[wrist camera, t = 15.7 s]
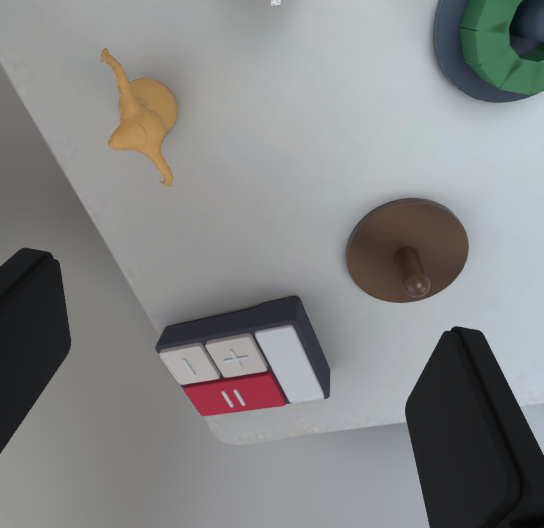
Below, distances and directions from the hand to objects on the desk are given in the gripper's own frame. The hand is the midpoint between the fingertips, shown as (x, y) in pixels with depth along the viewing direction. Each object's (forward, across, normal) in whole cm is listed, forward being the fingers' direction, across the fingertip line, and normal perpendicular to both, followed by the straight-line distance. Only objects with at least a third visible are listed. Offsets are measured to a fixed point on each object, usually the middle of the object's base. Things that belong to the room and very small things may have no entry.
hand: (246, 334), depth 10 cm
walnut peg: (+24, -12, +10) cm, 29 cm away
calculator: (+24, 0, +25) cm, 35 cm away
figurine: (+24, +9, +1) cm, 26 cm away
